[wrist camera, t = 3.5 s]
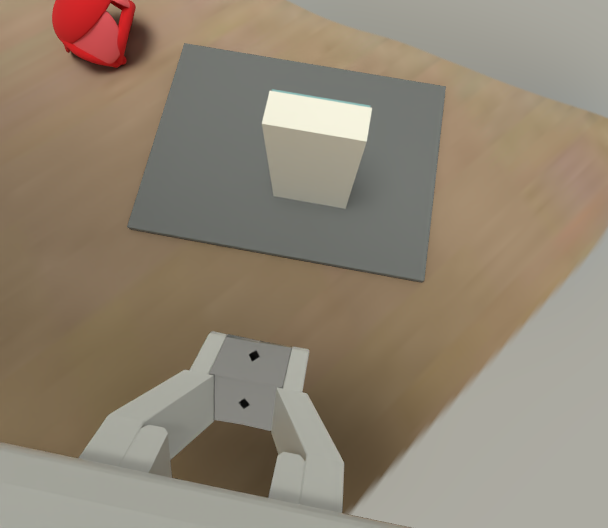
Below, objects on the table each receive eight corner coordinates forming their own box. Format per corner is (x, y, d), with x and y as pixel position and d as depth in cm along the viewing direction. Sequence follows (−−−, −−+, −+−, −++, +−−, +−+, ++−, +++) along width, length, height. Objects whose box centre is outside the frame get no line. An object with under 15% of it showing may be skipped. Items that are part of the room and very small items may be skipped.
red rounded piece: (146, -21, 33) (67, -66, 30) (137, 11, 30) (47, -35, 27) (128, 59, 38) (59, 28, 35) (118, 94, 35) (42, 63, 32)
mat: (130, 229, 31) (127, 226, 30) (186, 48, 35) (184, 43, 34) (421, 282, 30) (424, 280, 29) (443, 91, 34) (445, 86, 34)
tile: (273, 196, 31) (261, 123, 21) (279, 169, 32) (270, 87, 22) (345, 208, 31) (366, 141, 21) (349, 182, 31) (372, 104, 22)
